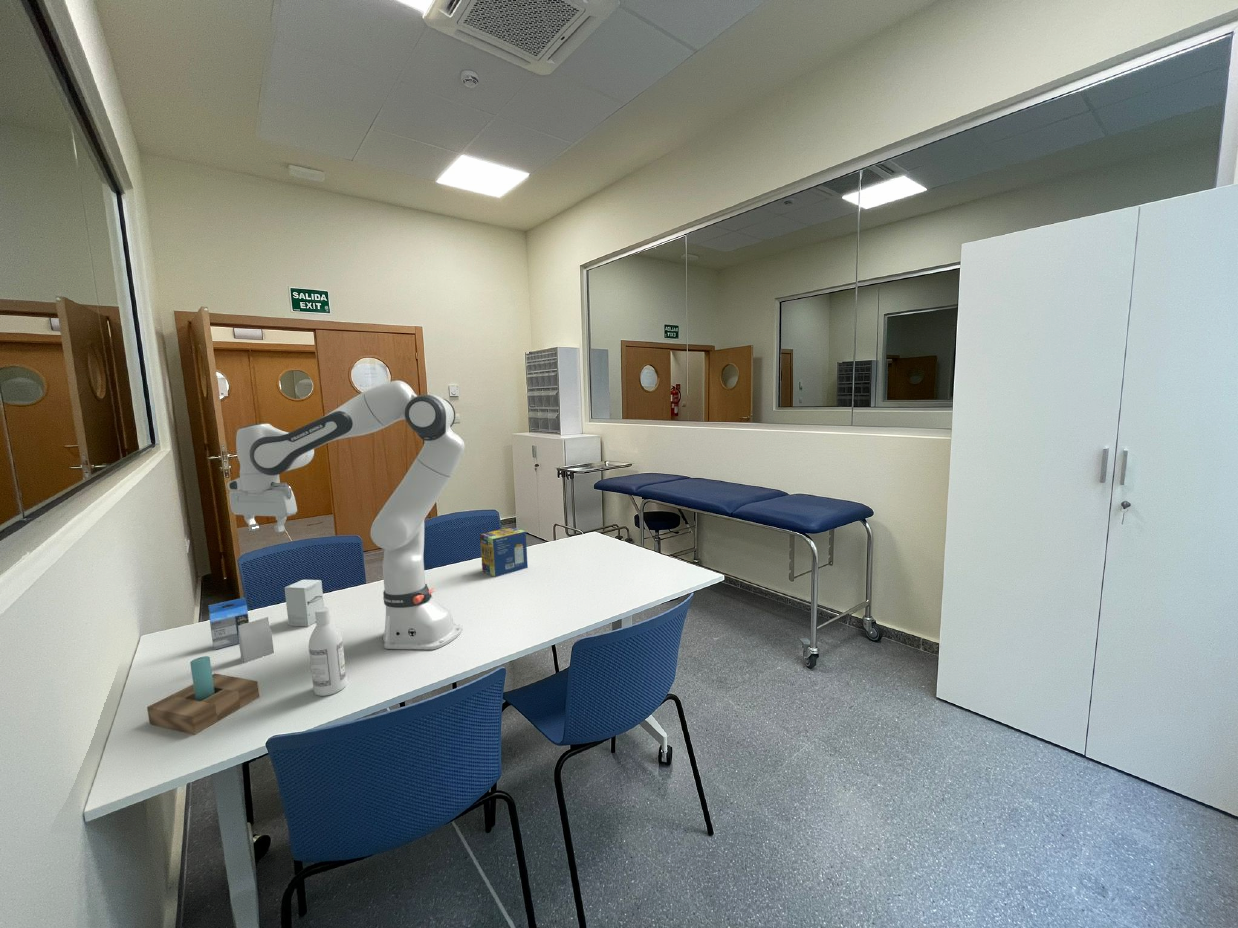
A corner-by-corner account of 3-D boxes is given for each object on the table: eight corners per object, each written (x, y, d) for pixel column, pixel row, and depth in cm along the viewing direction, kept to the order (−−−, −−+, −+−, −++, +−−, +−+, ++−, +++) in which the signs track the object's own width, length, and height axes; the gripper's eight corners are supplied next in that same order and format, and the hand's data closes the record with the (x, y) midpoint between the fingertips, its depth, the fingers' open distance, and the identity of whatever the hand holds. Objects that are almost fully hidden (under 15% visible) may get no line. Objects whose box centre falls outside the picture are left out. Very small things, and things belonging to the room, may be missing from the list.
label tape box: (213, 650, 144) (207, 609, 142) (213, 645, 147) (207, 605, 145) (251, 640, 149) (246, 600, 148) (250, 636, 152) (245, 596, 151)
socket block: (259, 696, 120) (257, 680, 119) (195, 734, 107) (192, 716, 106) (216, 688, 124) (214, 673, 123) (149, 723, 111) (147, 706, 110)
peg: (220, 706, 116) (213, 657, 115) (204, 715, 113) (197, 664, 112) (209, 704, 117) (202, 655, 116) (193, 713, 114) (186, 662, 113)
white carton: (274, 653, 141) (269, 618, 140) (244, 663, 136) (240, 627, 135) (270, 649, 144) (265, 615, 142) (241, 658, 139) (236, 623, 137)
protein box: (481, 571, 204) (479, 533, 202) (515, 562, 214) (512, 526, 212) (494, 577, 196) (492, 538, 194) (528, 567, 207) (526, 530, 205)
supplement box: (308, 627, 157) (303, 588, 156) (287, 625, 159) (283, 587, 157) (326, 617, 164) (322, 579, 163) (306, 615, 166) (302, 578, 164)
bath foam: (340, 677, 127) (331, 601, 125) (352, 686, 123) (343, 607, 120) (309, 690, 122) (300, 610, 119) (320, 700, 117) (311, 618, 115)
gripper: (299, 480, 141) (305, 529, 142) (244, 480, 146) (250, 526, 148) (279, 484, 135) (285, 535, 136) (222, 483, 140) (228, 532, 142)
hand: (266, 530), depth 142 cm, fingers open, 8 cm apart
